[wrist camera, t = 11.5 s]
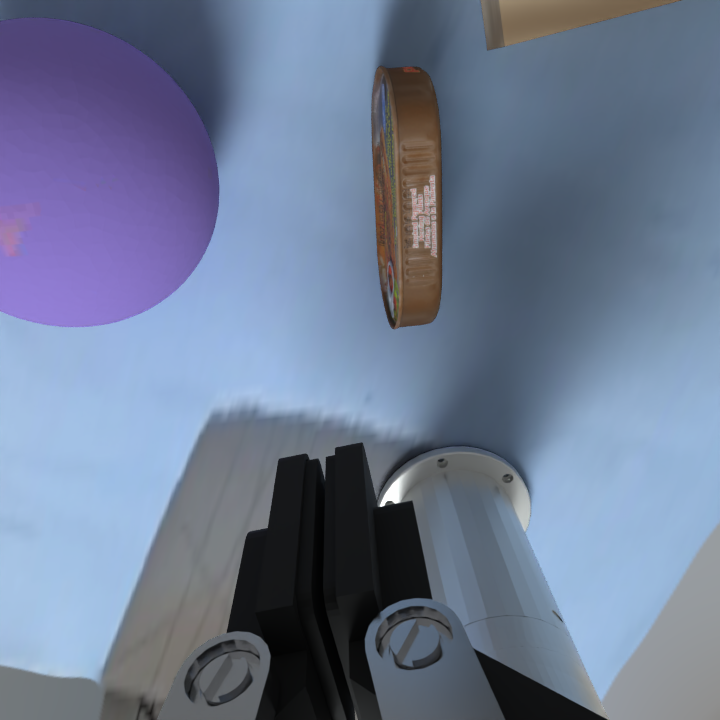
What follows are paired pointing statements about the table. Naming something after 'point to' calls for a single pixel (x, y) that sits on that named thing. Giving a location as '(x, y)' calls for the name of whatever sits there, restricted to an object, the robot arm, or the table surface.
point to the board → (550, 16)
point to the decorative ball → (96, 177)
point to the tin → (407, 194)
